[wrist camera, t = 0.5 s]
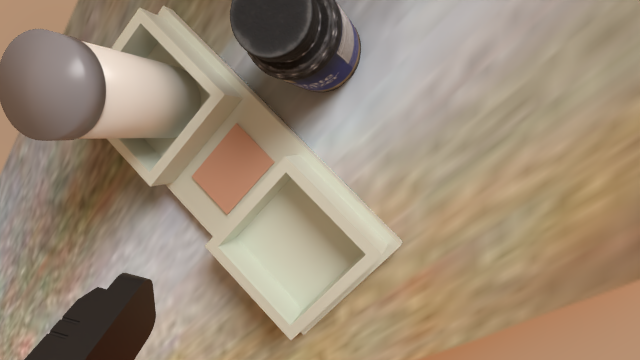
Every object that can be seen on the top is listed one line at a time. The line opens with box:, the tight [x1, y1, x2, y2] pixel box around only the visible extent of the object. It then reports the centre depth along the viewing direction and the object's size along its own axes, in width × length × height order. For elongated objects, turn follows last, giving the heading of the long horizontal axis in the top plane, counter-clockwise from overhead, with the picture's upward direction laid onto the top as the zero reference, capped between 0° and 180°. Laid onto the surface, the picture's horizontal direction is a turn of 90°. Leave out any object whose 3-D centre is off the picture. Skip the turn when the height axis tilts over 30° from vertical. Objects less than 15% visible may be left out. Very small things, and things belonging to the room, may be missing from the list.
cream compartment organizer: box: [0, 6, 402, 340], centre depth 29 cm, size 27×11×13 cm, turn 46°
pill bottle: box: [230, 0, 361, 92], centre depth 28 cm, size 6×6×11 cm
